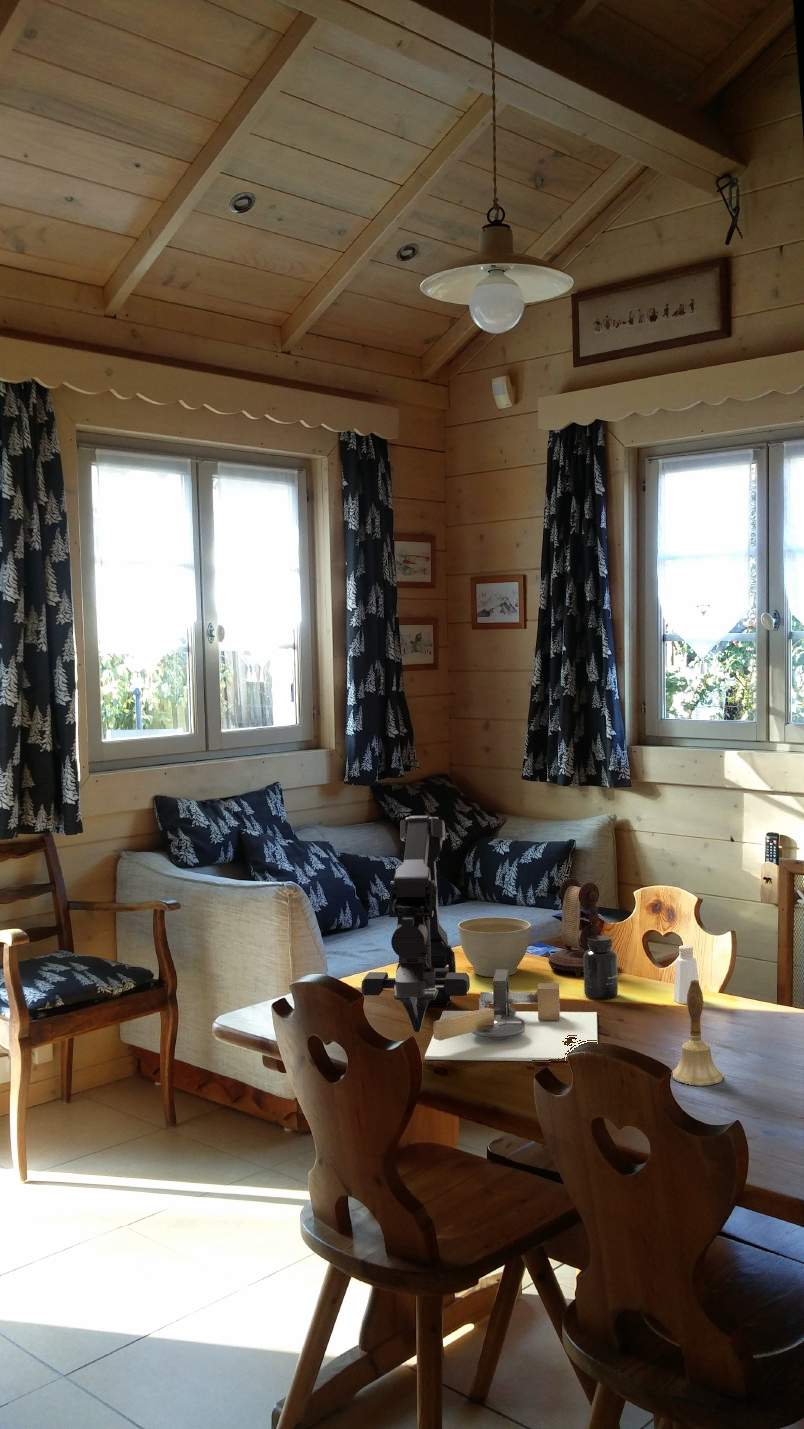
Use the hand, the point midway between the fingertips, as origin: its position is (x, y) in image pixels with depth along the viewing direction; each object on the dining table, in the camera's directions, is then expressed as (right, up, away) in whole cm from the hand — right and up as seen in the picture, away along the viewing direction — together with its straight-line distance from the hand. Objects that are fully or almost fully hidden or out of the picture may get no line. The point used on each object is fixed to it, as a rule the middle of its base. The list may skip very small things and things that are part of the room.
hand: (417, 1031), depth 212 cm
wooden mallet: (+20, -2, +17) cm, 26 cm away
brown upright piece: (+37, -1, +54) cm, 66 cm away
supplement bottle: (+38, -2, +33) cm, 50 cm away
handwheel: (+12, -2, +4) cm, 12 cm away
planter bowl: (+18, -1, +54) cm, 57 cm away
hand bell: (+46, -3, -16) cm, 49 cm away
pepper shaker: (+54, -1, +27) cm, 61 cm away
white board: (+18, -3, +8) cm, 20 cm away
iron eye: (+17, -3, +18) cm, 24 cm away
